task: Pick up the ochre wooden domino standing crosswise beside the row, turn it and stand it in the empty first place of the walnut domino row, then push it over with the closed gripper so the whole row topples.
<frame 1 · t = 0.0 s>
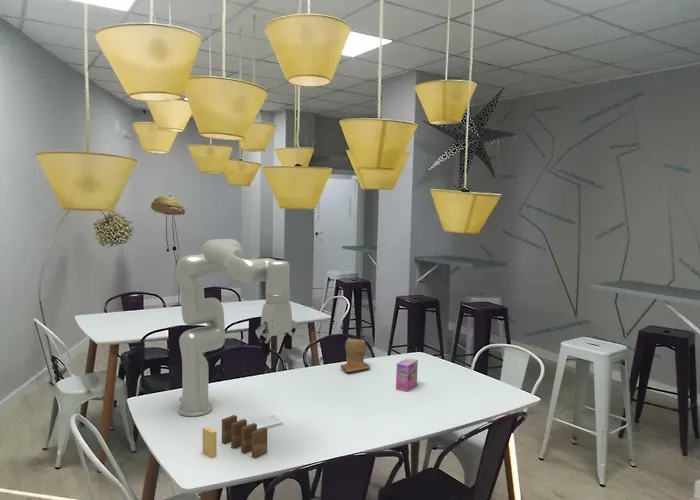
hand: (277, 351, 165), 31 cm above the table, tool pointing down, fingers open, 9 cm apart
walnut domino 4: (249, 450, 163), on the table
hard drive: (262, 426, 183), on the table
walnut domino 3: (239, 445, 167), on the table
brown statuette: (353, 369, 252), on the table
walnut domino 5: (259, 455, 160), on the table
ochre domino: (209, 454, 160), on the table
box: (406, 388, 226), on the table
walnut domino 2: (229, 441, 170), on the table
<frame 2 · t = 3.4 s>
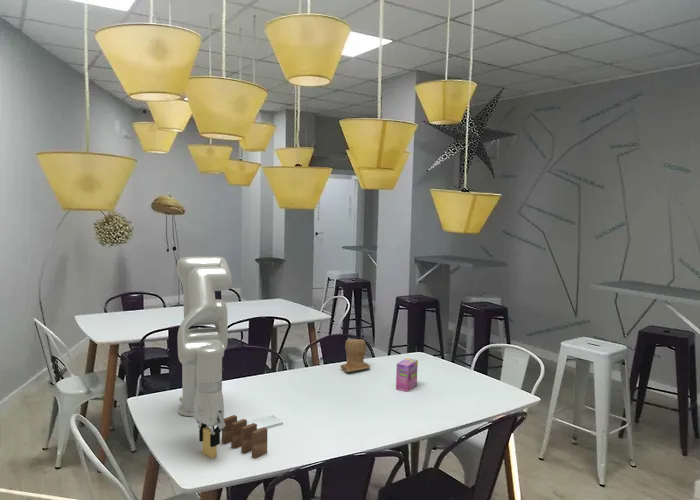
hand: (209, 442, 160), 4 cm above the table, tool pointing down, fingers closed on ochre domino, 4 cm apart
ochre domino: (209, 454, 160), on the table, touching gripper
everything else where it was.
when the fingers open (5 cm above the table, at t = 9.4 s): ochre domino stays where it is, on the table.
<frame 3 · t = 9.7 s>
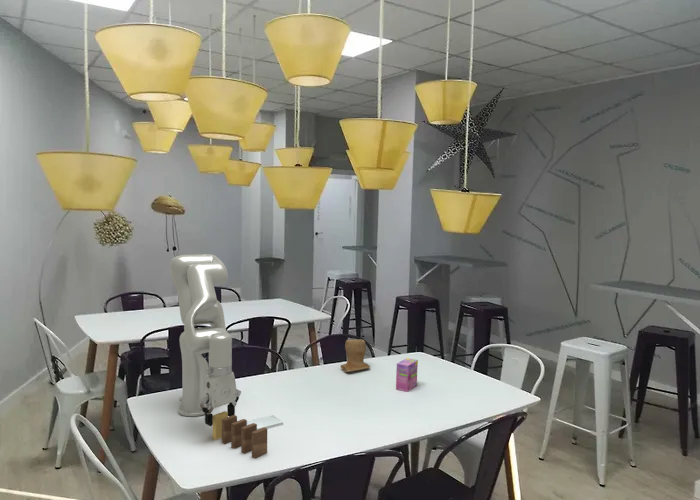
hand: (220, 420, 173), 6 cm above the table, tool pointing down, fingers open, 8 cm apart
ochre domino: (220, 436, 173), on the table
everything else where it was.
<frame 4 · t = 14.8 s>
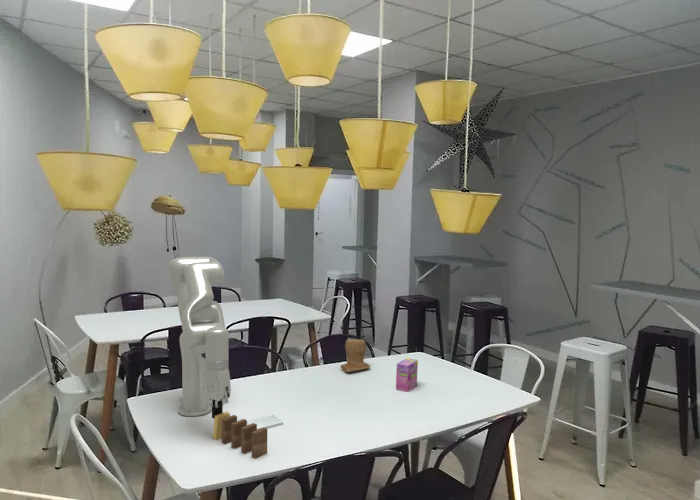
hand: (217, 417, 173), 6 cm above the table, tool pointing down, fingers closed
ochre domino: (220, 436, 173), on the table, tilted 8°
everything else where it was.
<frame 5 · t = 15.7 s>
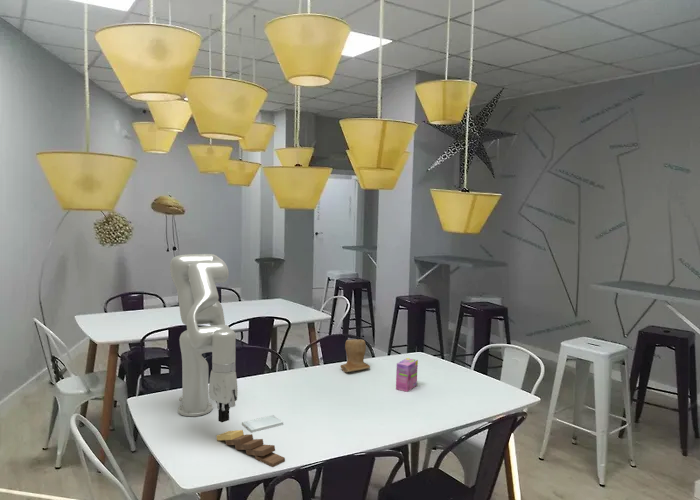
hand: (223, 420, 171), 6 cm above the table, tool pointing down, fingers closed
walnut domino 4: (252, 449, 162), point 1 cm above the table, tilted 76°, touching walnut domino 5
walnut domino 3: (241, 444, 166), point 1 cm above the table, tilted 72°, touching walnut domino 2
walnut domino 5: (261, 455, 160), on the table, tilted 90°, touching walnut domino 4
ochre domino: (223, 435, 172), point 1 cm above the table, tilted 71°
walnut domino 2: (232, 440, 169), point 1 cm above the table, tilted 71°, touching walnut domino 3
everything else where it was.
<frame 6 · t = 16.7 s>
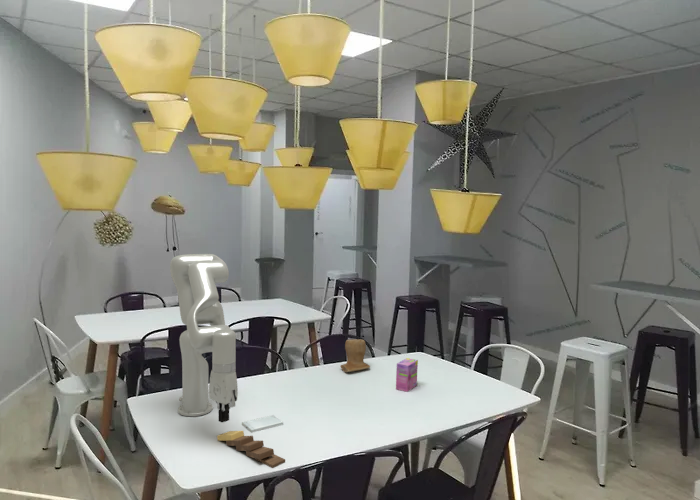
hand: (223, 420, 171), 6 cm above the table, tool pointing down, fingers closed
walnut domino 4: (253, 450, 161), point 1 cm above the table, tilted 78°, touching walnut domino 3, walnut domino 5
walnut domino 3: (242, 445, 165), point 1 cm above the table, tilted 72°, touching walnut domino 2, walnut domino 4
ochre domino: (223, 435, 172), point 1 cm above the table, tilted 72°, touching walnut domino 2
walnut domino 2: (232, 440, 168), point 1 cm above the table, tilted 72°, touching ochre domino, walnut domino 3
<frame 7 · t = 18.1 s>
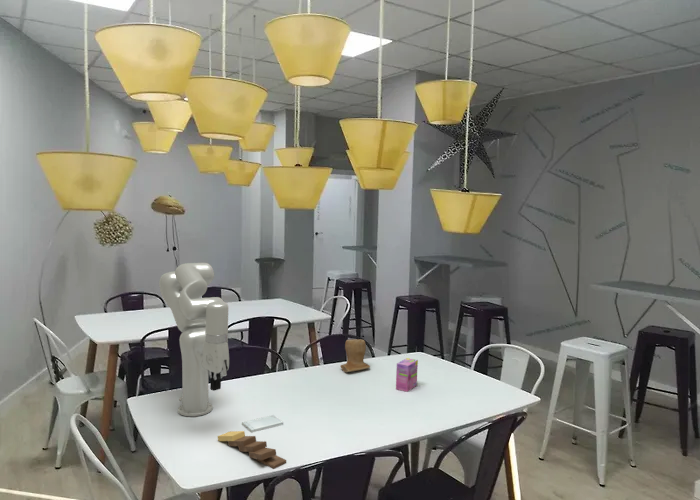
hand: (215, 389, 178), 14 cm above the table, tool pointing down, fingers closed
walnut domino 4: (256, 452, 160), point 1 cm above the table, tilted 74°, touching walnut domino 3
walnut domino 3: (245, 446, 165), point 1 cm above the table, tilted 73°, touching walnut domino 2, walnut domino 4
walnut domino 5: (262, 457, 159), on the table, tilted 90°
ochre domino: (224, 436, 172), point 1 cm above the table, tilted 73°
walnut domino 2: (234, 441, 168), point 1 cm above the table, tilted 73°, touching walnut domino 3
everything else where it was.
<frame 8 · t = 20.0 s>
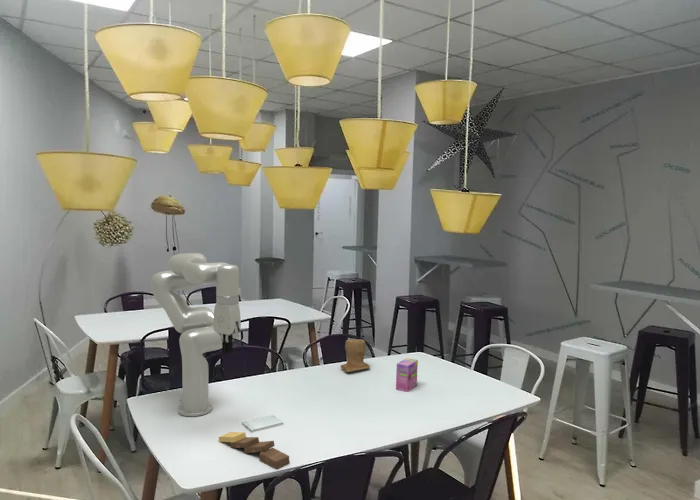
hand: (227, 352, 178), 27 cm above the table, tool pointing down, fingers closed
walnut domino 4: (266, 452, 159), point 2 cm above the table, tilted 90°, touching walnut domino 5
walnut domino 3: (250, 447, 163), point 1 cm above the table, tilted 72°, touching walnut domino 2
walnut domino 5: (265, 458, 158), on the table, tilted 90°, touching walnut domino 4
walnut domino 2: (236, 442, 167), point 1 cm above the table, tilted 74°, touching walnut domino 3
everything else where it was.
at the end: ochre domino inside the target area (1.6 cm from its centre), point 0.8 cm above the table; ochre domino tilted 75°; walnut domino 5 tilted 90° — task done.
